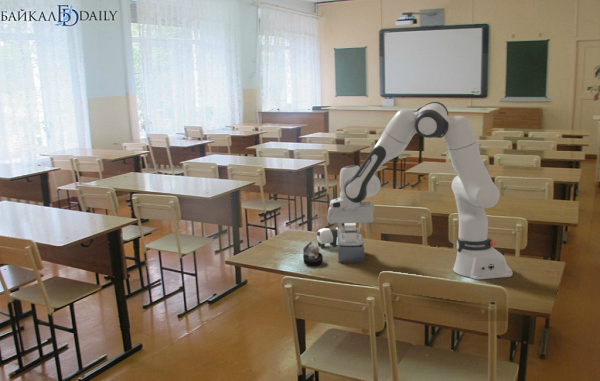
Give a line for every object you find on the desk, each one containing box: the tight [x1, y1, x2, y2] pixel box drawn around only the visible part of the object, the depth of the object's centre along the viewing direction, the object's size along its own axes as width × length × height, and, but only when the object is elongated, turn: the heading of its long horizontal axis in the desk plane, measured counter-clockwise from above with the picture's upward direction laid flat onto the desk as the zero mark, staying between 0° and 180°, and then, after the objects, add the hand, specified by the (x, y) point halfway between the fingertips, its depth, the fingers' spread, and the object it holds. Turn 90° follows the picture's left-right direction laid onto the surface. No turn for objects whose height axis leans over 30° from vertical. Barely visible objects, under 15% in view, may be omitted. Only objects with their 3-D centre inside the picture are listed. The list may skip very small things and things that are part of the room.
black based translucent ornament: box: [302, 241, 324, 268], centre depth 234 cm, size 7×11×10 cm
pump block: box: [343, 223, 358, 242], centre depth 237 cm, size 5×8×7 cm, turn 177°
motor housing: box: [337, 233, 365, 264], centre depth 238 cm, size 11×15×9 cm
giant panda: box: [316, 224, 345, 249], centre depth 255 cm, size 15×6×10 cm, turn 110°
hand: (350, 232), depth 237 cm, fingers open, 5 cm apart
